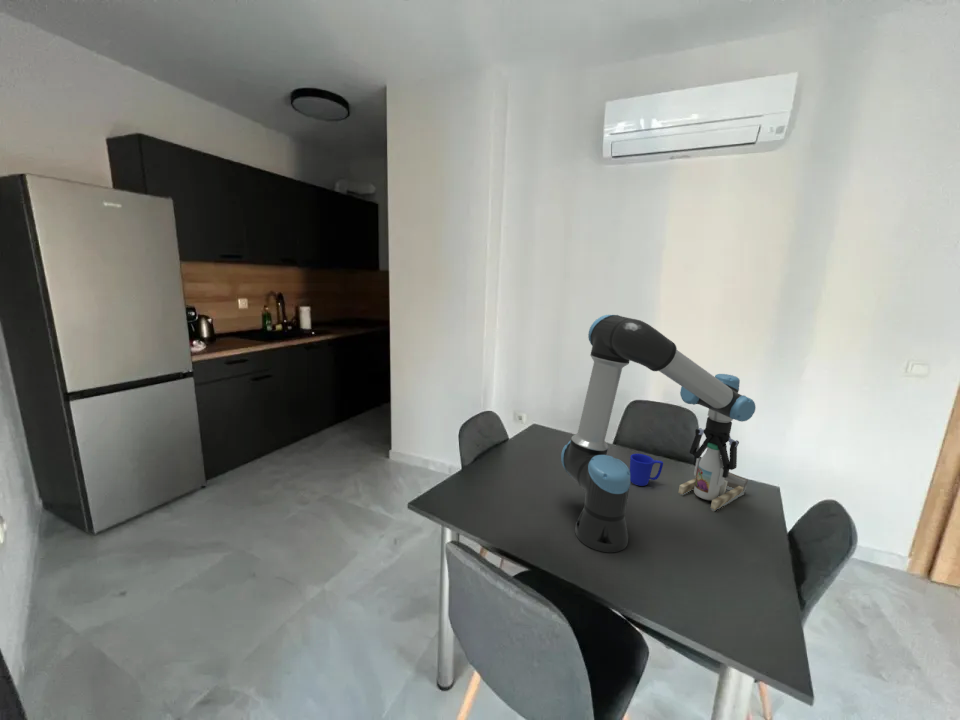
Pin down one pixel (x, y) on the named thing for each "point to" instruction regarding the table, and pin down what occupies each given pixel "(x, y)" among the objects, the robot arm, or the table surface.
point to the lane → (734, 482)
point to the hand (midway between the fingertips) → (708, 479)
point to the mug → (642, 469)
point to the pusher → (723, 488)
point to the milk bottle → (708, 473)
